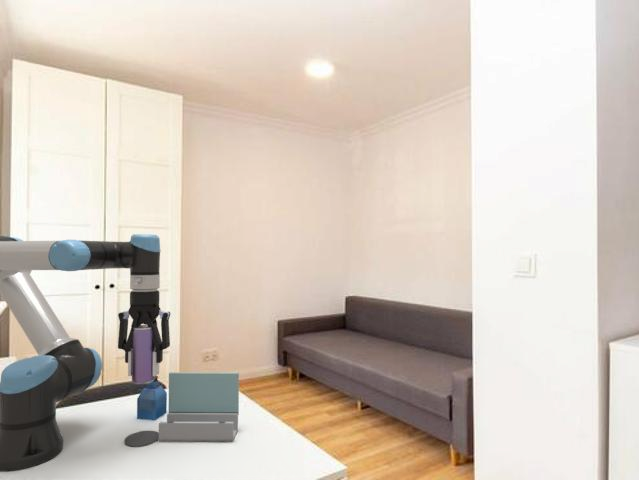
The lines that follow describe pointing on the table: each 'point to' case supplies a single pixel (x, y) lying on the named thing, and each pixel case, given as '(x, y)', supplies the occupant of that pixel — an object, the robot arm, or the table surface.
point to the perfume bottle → (152, 402)
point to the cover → (203, 392)
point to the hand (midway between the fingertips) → (143, 374)
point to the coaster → (141, 438)
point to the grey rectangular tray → (199, 427)
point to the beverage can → (142, 355)
